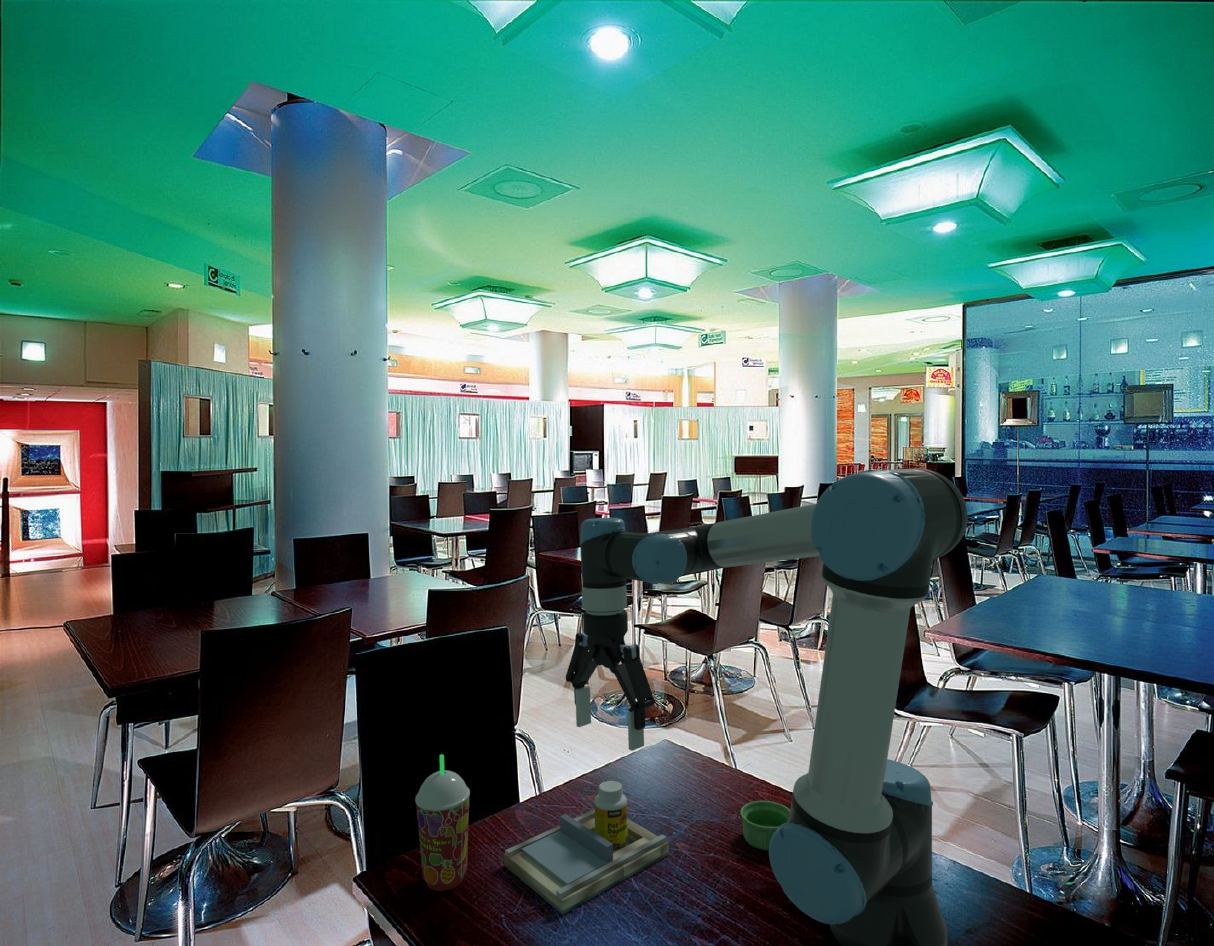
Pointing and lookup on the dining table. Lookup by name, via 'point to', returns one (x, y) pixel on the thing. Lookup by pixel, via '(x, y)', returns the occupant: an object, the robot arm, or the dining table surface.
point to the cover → (570, 851)
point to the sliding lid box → (625, 863)
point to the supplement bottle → (611, 814)
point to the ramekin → (762, 821)
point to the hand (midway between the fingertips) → (609, 735)
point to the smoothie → (443, 828)
